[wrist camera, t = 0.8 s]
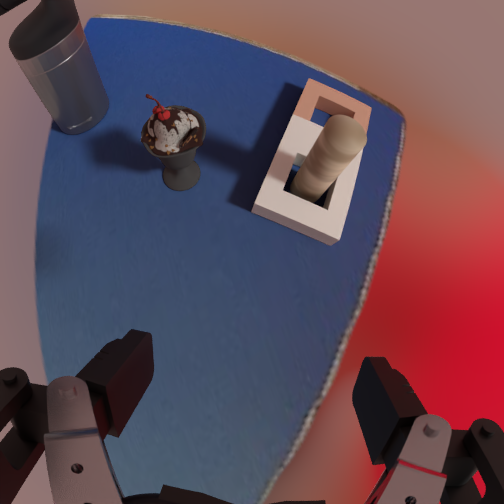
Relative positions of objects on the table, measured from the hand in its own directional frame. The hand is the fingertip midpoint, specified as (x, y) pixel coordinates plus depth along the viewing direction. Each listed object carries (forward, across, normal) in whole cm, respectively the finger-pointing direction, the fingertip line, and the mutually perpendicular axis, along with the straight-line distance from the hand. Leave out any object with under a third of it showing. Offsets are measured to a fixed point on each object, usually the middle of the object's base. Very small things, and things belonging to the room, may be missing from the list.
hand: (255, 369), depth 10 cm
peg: (+31, -5, -7) cm, 32 cm away
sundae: (+29, +12, -7) cm, 32 cm away
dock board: (+33, -6, -12) cm, 36 cm away
